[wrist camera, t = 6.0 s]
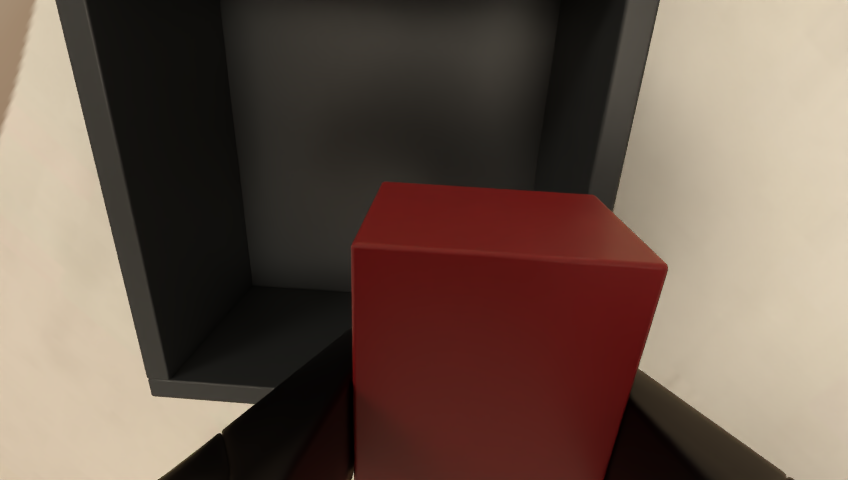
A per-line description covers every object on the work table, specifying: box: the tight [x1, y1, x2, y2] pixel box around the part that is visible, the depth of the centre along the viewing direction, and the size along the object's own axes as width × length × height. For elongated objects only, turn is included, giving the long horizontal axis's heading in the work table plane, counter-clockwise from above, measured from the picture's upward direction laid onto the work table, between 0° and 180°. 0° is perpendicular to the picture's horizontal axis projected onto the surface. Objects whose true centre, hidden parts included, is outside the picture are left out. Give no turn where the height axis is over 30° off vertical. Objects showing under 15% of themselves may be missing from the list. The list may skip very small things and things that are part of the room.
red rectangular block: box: [351, 181, 668, 480], centre depth 8 cm, size 6×4×3 cm, turn 177°
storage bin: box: [56, 0, 660, 404], centre depth 16 cm, size 15×15×8 cm
